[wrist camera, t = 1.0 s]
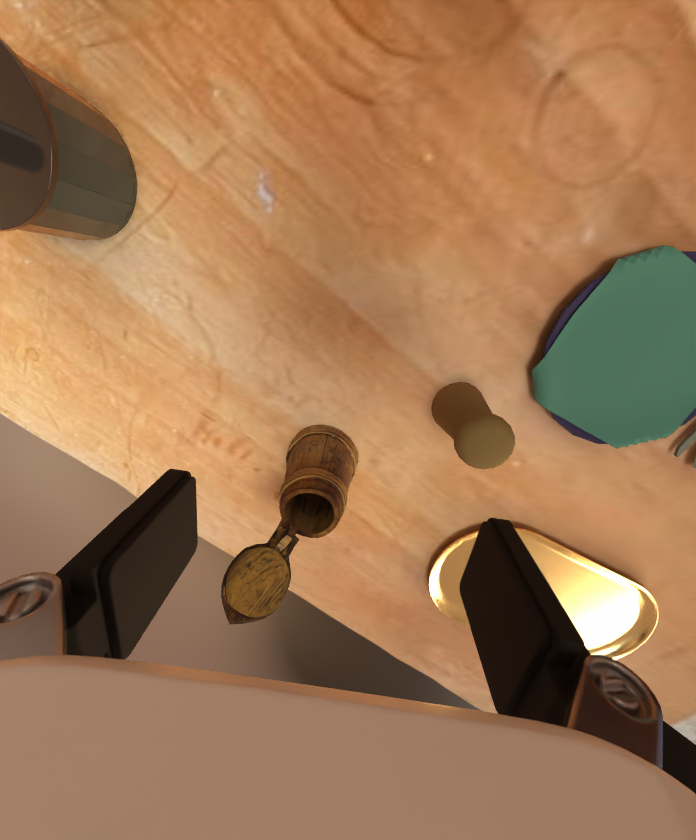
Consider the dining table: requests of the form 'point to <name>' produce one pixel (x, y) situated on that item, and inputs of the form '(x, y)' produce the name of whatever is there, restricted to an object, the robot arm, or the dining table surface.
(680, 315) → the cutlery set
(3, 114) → the lid
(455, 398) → the brown tapered piece
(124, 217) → the cup
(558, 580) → the serving platter
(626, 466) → the dining table surface
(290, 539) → the wooden mug
